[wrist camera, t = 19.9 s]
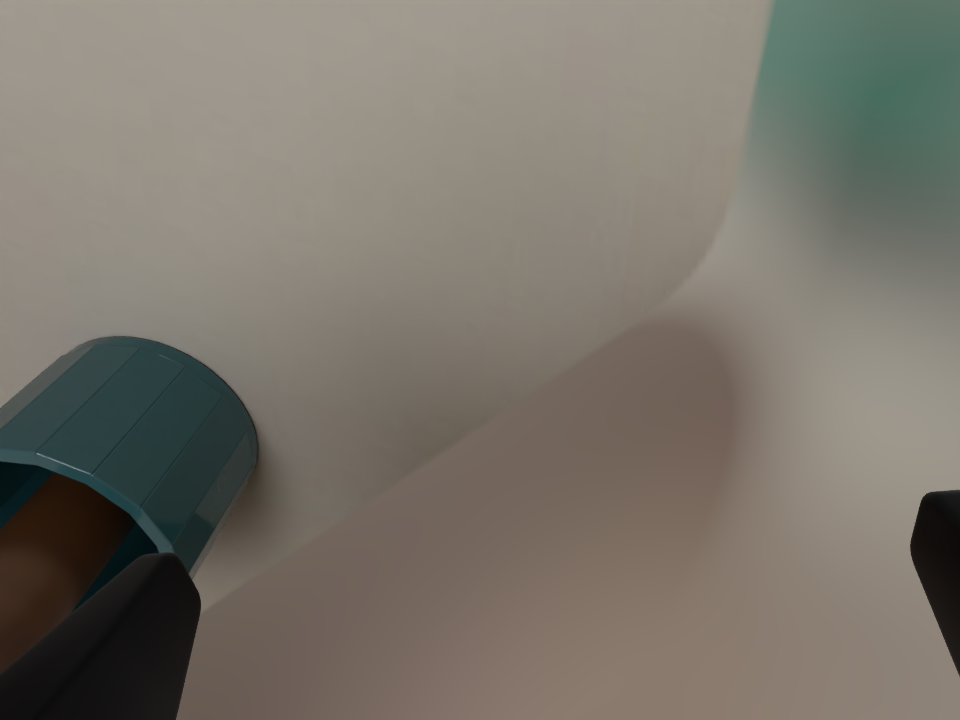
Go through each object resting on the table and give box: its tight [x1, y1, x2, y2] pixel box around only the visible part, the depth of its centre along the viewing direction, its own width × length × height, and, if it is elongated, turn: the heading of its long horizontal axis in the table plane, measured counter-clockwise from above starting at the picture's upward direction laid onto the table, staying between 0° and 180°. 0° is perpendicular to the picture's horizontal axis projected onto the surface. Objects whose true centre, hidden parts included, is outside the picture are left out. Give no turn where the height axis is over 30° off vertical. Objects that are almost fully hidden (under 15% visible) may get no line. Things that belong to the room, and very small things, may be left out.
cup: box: [0, 337, 258, 612], centre depth 23 cm, size 8×8×6 cm
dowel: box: [0, 472, 137, 673], centre depth 20 cm, size 3×3×13 cm
